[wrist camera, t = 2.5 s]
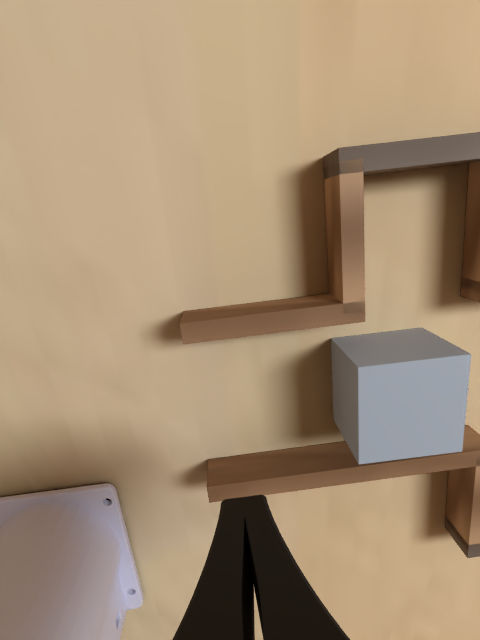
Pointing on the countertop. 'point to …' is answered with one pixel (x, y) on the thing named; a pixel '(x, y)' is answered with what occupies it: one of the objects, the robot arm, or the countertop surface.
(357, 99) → the countertop surface
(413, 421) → the block
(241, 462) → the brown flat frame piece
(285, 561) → the robot arm
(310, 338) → the countertop surface
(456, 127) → the countertop surface
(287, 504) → the countertop surface
